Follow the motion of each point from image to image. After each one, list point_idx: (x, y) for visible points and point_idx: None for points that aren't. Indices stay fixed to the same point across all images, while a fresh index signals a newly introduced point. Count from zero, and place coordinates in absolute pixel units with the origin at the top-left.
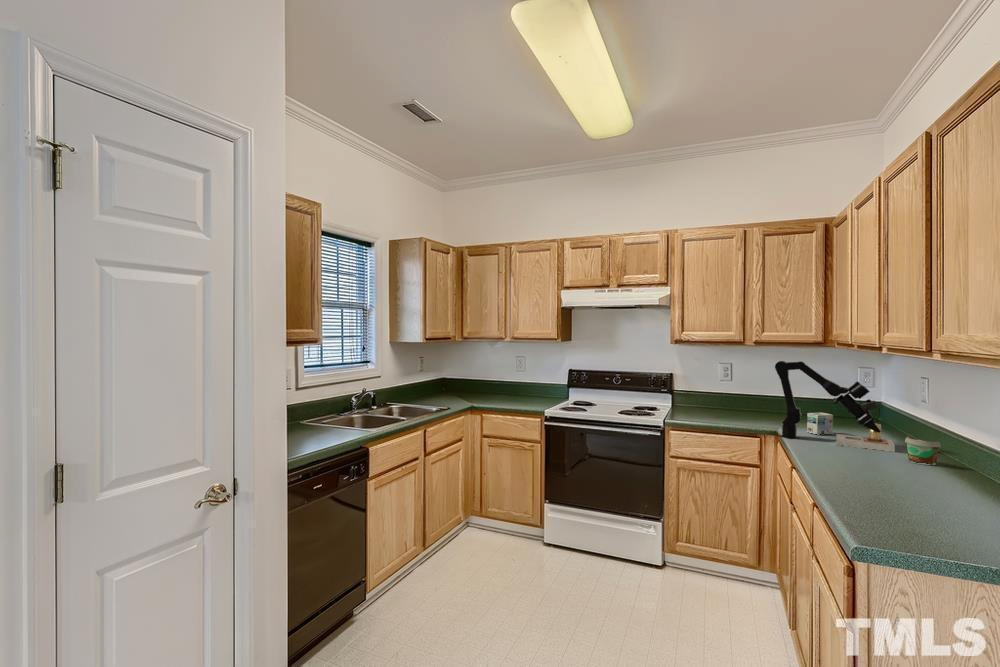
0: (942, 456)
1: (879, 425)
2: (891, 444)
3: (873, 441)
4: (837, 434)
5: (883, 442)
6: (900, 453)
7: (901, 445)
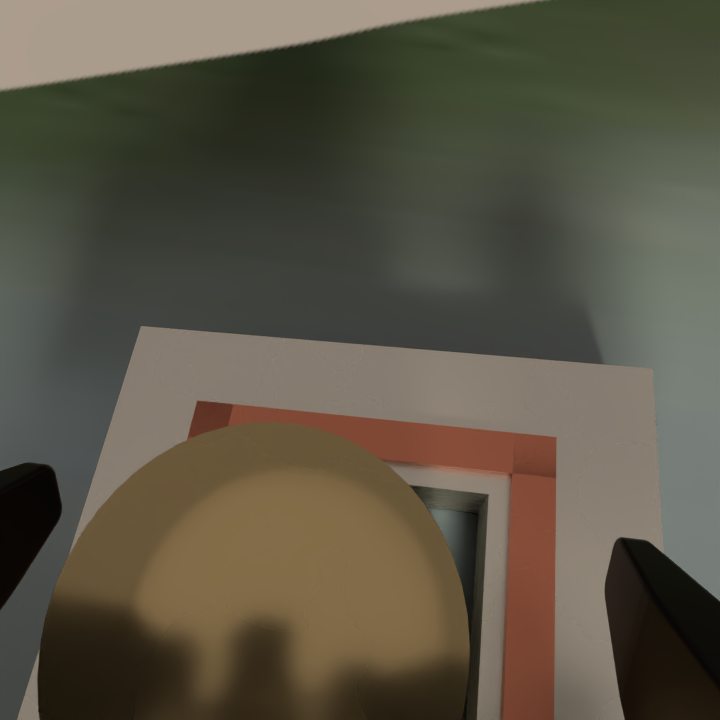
0: (525, 19)
1: (421, 508)
2: (571, 400)
3: (527, 692)
4: None
5: (523, 507)
6: (656, 352)
7: (87, 251)
